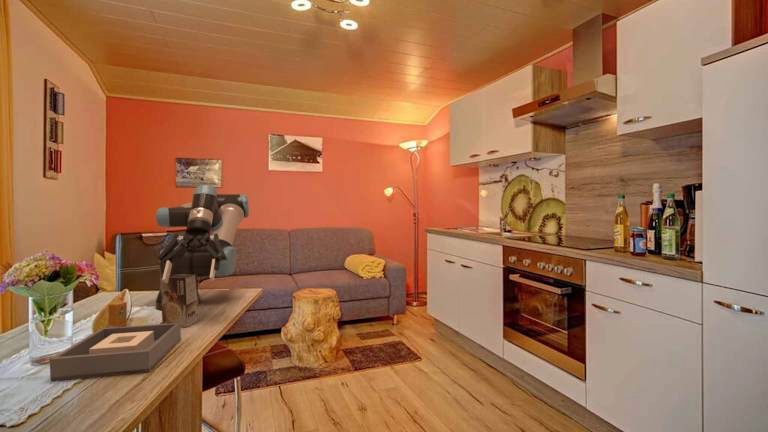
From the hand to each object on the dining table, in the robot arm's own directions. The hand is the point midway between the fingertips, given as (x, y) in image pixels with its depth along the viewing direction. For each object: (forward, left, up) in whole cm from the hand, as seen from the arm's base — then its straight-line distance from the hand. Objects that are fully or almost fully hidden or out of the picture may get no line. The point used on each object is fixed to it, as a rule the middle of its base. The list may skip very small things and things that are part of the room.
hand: (188, 280), depth 112 cm
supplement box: (+2, -19, -16) cm, 25 cm away
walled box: (+20, -9, -15) cm, 27 cm away
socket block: (+20, -9, -15) cm, 27 cm away
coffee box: (-5, -4, -16) cm, 17 cm away
